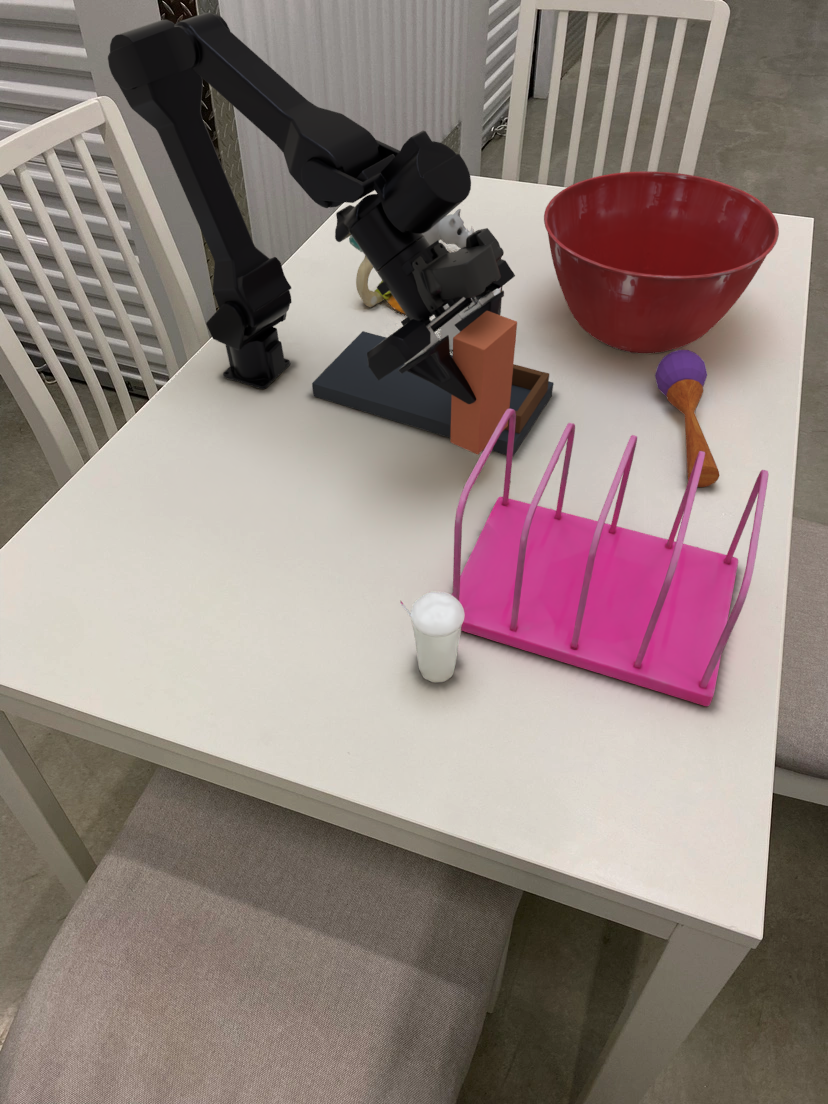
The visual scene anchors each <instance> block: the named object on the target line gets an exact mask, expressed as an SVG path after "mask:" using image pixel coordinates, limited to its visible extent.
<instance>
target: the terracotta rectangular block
mask: <svg viewBox="0 0 828 1104" xmlns="http://www.w3.org/2000/svg"><path fill="white" fill-rule="evenodd" d="M517 329H518V321H517V320H514V319H511V318H509V317H506V316H503V315H498V314H495V313H492V312H490V311H486V312H484V313H483V314H482V315H481V316H479V317H478V318H477V319H476V320H474V321H473V322H472V323H471V324H469V325H468V326H467V327H466V328H464V329H463V330H462V331H461V332H460V333H458V334H457V335H456V336H455V337H453V350H452V355H453V360H454V361H455V363H456V365H457V366H458V368H459V369H460V371H461V372H462V374H463V375H464V377H465V379H466V380H467V382H468V383H469V385H470V387H471V389H472V391H473V393H474V395H475V397H476V401H475V402H474V403H472V404H467V403H465V402H464V401H462V400H460V399H458V398H457V397H455V396H453V395H452V399H451V438H449V440H450V443H451V444H453V445H455V446H457V447H460V448H462V449H464V450H465V451H468V452H471V453H472V454H475V455H477V456H478V455H480V454H481V453H483V451H484V449H485V447H486V445H487V444H488V442H489V440H490V438H491V436H492V434H493V433H494V431H495V429H496V427H497V425H498V423H499V422H500V420H501V418H502V416H503V415H504V413H505V411H506V410H507V409H509V407H510V396H511V385H512V374H513V364H514V363H515V362H514V361H515V352H516V351H515V350H516V341H517V331H518V330H517ZM507 426H508V421H507V423H506V425H505V427H504V429H505V428H506V427H507ZM504 429H503V430H504Z"/></svg>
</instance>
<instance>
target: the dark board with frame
mask: <svg viewBox="0 0 828 1104" xmlns="http://www.w3.org/2000/svg"><path fill="white" fill-rule="evenodd" d="M386 338H387V336H382V335H378V334H376V333H371V332H367V331H364V330H363V331H361V332H360V333H359V334H358V335H357V336H356V337H355V338H354V339H353V340H352V341H351V343H350V344H349V345H348V346H347V347H346V348H345V349H344V350H343V351H341V353H339V355H338V356H337V357H336V358H335V359H334V360H333V361H332V362H331V363H330V364H329V365H328V366H327V367H326V368H325V369H324V371H322V372H321V373H320V374H319V376H317V377H316V379H314V380H313V382H311V387H312V395H313V397H315V398H317V399H321V400H325V401H328V402H331V403H334V404H338V405H341V406H344V407H348V408H350V409H354V410H357V411H361V412H364V413H367V414H370V415H373V416H377V417H380V418H383V419H387V420H390V421H393V422H395V423H396V422H397V423H400V424H403V425H406V426H410V427H413V428H416V429H420V430H423V431H427V432H429V433H433V434H436V435H440V436H442V437H446V438H449V439H450V438H451V399H452V394H450V393H448V392H446V391H445V390H443V389H441V388H440V387H438V386H436V385H434V384H432V383H431V382H429V381H426V380H424V379H422V378H420V377H418V376H416V375H414V374H411V373H409V372H407V371H405V372H404V373H402V374H401V373H400V372H399V371H398V370H399V369H400V368H401V367H402V366H403V365H405V364H403V365H401V366H400V367H398V368H397V369H395V370H394V371H392V372H391V373H389V374H388V375H386V376H384V377H383V378H381V379H380V380H378V379H377V378H376V377H375V375H374V374H373V372H372V371H371V369H370V368H369V367H368V360H367V352H369V351H370V350H371V349H373V348H374V347H375V346H377V345H378V344H379V343H381V342H382V341H383V340H385V339H386ZM450 355H451V357H452V358H453V354H450ZM549 380H550V373H548V372H545V371H541V370H536V369H534V368H530V367H526V366H523V365H518V364H516V363H515V364H514V363H513V374H512V385H511V396H510V407H509V409H513V410H515V412H516V424H515V436H514V446H513V457H514V455H516V453H517V451H518V449H519V448H520V447H521V445H522V443H523V442H524V440H525V438H526V437H527V436H528V434H529V432H530V431H531V429H532V427H533V426H534V425H535V423H536V421H537V420H538V418H539V417H540V415H541V413H542V412H543V410H544V409H545V407H546V406H547V404H548V403H549V401H550V399H551V398H552V396H553V391H554V382H553V381H549ZM509 420H510V418H509ZM509 420H508V426H507V427H506V428H505V429H504V430H503V431H502V432H501V434H500V436H499V438H498V439H497V441H496V443H495V445H494V447H493V449H492V451H491V452H495V453H497V454H501V455H506V456H507V445H508V434H509Z"/></svg>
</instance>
